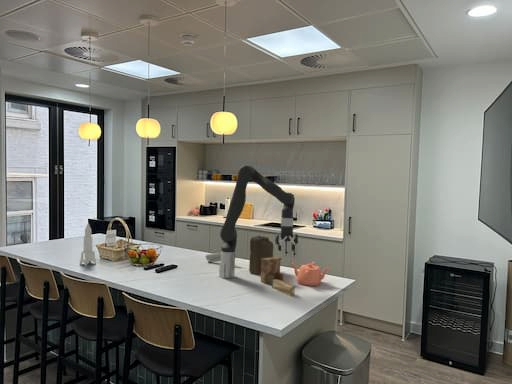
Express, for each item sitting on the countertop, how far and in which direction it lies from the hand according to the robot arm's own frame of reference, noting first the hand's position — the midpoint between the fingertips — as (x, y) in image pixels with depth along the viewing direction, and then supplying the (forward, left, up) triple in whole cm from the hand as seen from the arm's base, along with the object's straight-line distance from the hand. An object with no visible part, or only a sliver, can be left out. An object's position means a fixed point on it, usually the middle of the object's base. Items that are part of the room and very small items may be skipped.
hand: (286, 250), depth 233 cm
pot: (+17, -4, -22) cm, 28 cm away
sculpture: (-96, +105, -22) cm, 144 cm away
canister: (+4, +32, -22) cm, 39 cm away
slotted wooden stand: (-4, +7, -21) cm, 23 cm away
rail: (-9, -10, -22) cm, 25 cm away
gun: (-11, +64, -22) cm, 69 cm away
